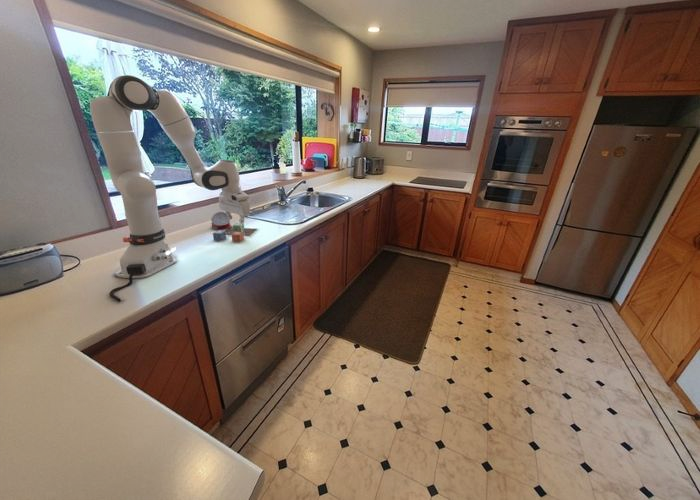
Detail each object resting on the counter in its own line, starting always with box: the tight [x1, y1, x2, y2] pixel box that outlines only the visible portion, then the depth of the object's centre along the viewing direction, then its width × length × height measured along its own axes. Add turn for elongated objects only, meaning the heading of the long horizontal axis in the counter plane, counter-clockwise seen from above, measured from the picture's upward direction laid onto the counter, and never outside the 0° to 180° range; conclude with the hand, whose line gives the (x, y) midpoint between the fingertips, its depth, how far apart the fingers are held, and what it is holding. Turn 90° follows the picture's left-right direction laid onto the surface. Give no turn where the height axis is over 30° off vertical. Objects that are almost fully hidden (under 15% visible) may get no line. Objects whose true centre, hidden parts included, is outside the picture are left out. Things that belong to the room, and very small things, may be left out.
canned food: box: [210, 211, 231, 231], centre depth 164 cm, size 11×10×10 cm
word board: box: [224, 226, 258, 237], centre depth 159 cm, size 12×17×1 cm
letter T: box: [212, 230, 227, 242], centre depth 147 cm, size 4×4×4 cm
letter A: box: [232, 222, 245, 232], centre depth 158 cm, size 4×4×4 cm
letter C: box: [230, 232, 245, 243], centre depth 147 cm, size 4×4×4 cm
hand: (235, 220), depth 143 cm, fingers open, 8 cm apart
